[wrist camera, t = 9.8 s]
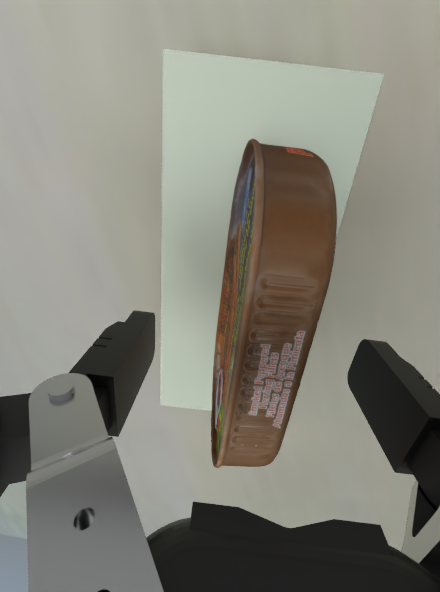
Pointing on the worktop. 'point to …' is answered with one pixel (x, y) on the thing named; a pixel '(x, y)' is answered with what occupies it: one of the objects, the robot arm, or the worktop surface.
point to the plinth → (222, 178)
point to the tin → (269, 298)
